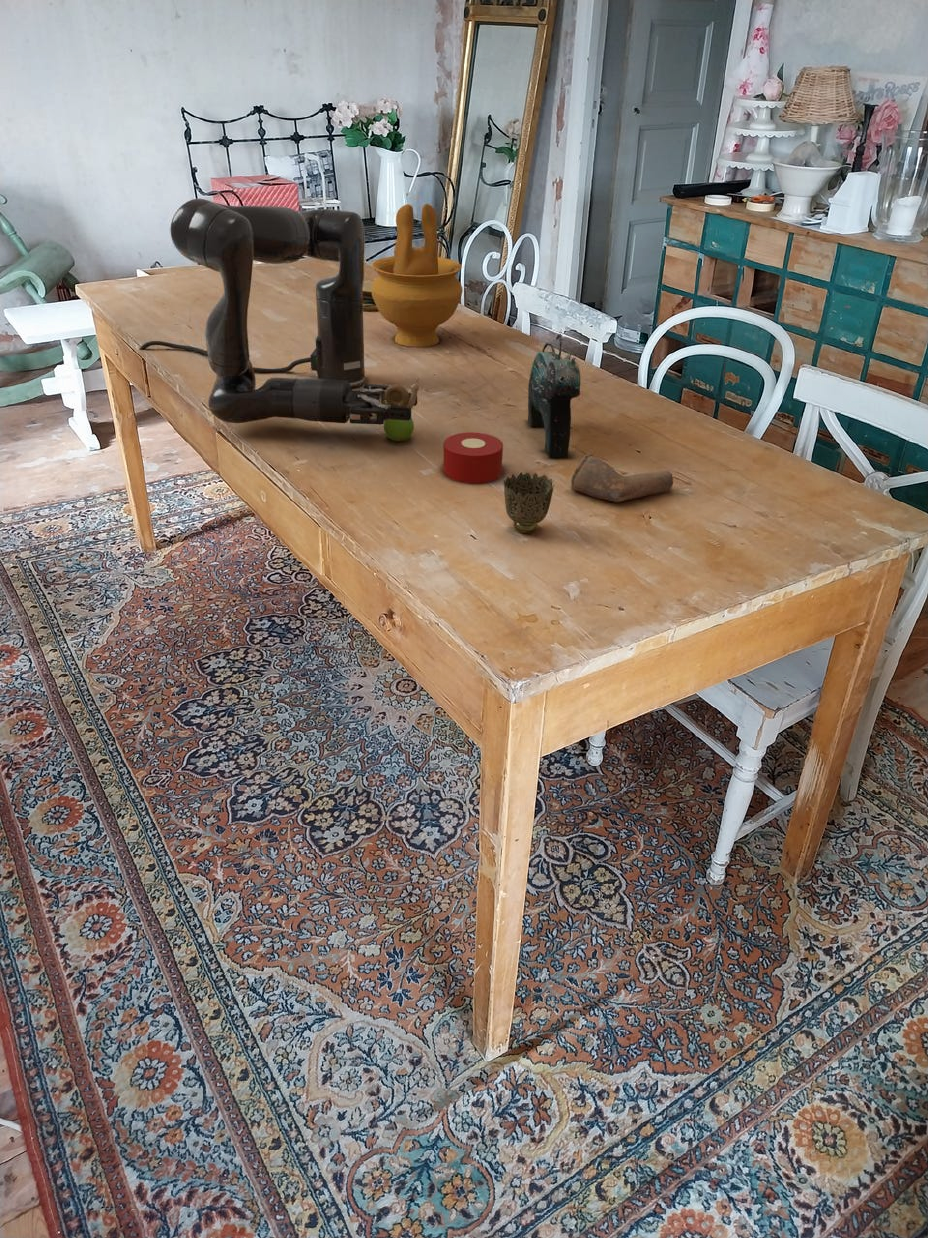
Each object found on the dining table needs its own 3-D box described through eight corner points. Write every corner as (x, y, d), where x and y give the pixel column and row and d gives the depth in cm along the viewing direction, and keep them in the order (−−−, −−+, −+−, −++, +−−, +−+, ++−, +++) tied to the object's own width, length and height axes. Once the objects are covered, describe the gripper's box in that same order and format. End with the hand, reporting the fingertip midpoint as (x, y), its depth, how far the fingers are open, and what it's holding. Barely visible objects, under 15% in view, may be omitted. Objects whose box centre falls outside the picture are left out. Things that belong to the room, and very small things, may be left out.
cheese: (439, 481, 156) (440, 452, 153) (446, 457, 164) (447, 429, 161) (499, 485, 155) (501, 456, 152) (503, 461, 164) (505, 433, 161)
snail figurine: (414, 448, 167) (415, 382, 160) (380, 444, 168) (379, 379, 161) (422, 436, 172) (422, 372, 165) (388, 433, 172) (387, 369, 166)
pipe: (685, 468, 152) (648, 437, 158) (602, 486, 144) (567, 453, 151) (674, 501, 156) (639, 469, 162) (594, 520, 149) (560, 486, 155)
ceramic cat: (576, 461, 165) (587, 348, 154) (540, 462, 164) (549, 349, 153) (549, 419, 181) (558, 314, 170) (516, 420, 180) (523, 315, 169)
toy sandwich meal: (336, 307, 242) (335, 289, 239) (358, 295, 252) (358, 277, 250) (380, 313, 238) (380, 294, 236) (401, 301, 249) (401, 283, 246)
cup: (498, 518, 145) (501, 471, 141) (545, 518, 146) (549, 470, 141) (504, 541, 139) (507, 492, 135) (553, 541, 140) (557, 492, 135)
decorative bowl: (445, 324, 232) (448, 193, 216) (473, 350, 216) (478, 210, 199) (362, 329, 226) (359, 195, 210) (384, 356, 210) (382, 213, 193)
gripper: (311, 393, 159) (408, 400, 158) (330, 366, 171) (420, 372, 170) (313, 435, 163) (408, 441, 162) (331, 406, 175) (419, 412, 174)
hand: (413, 406), depth 166 cm, fingers open, 6 cm apart
